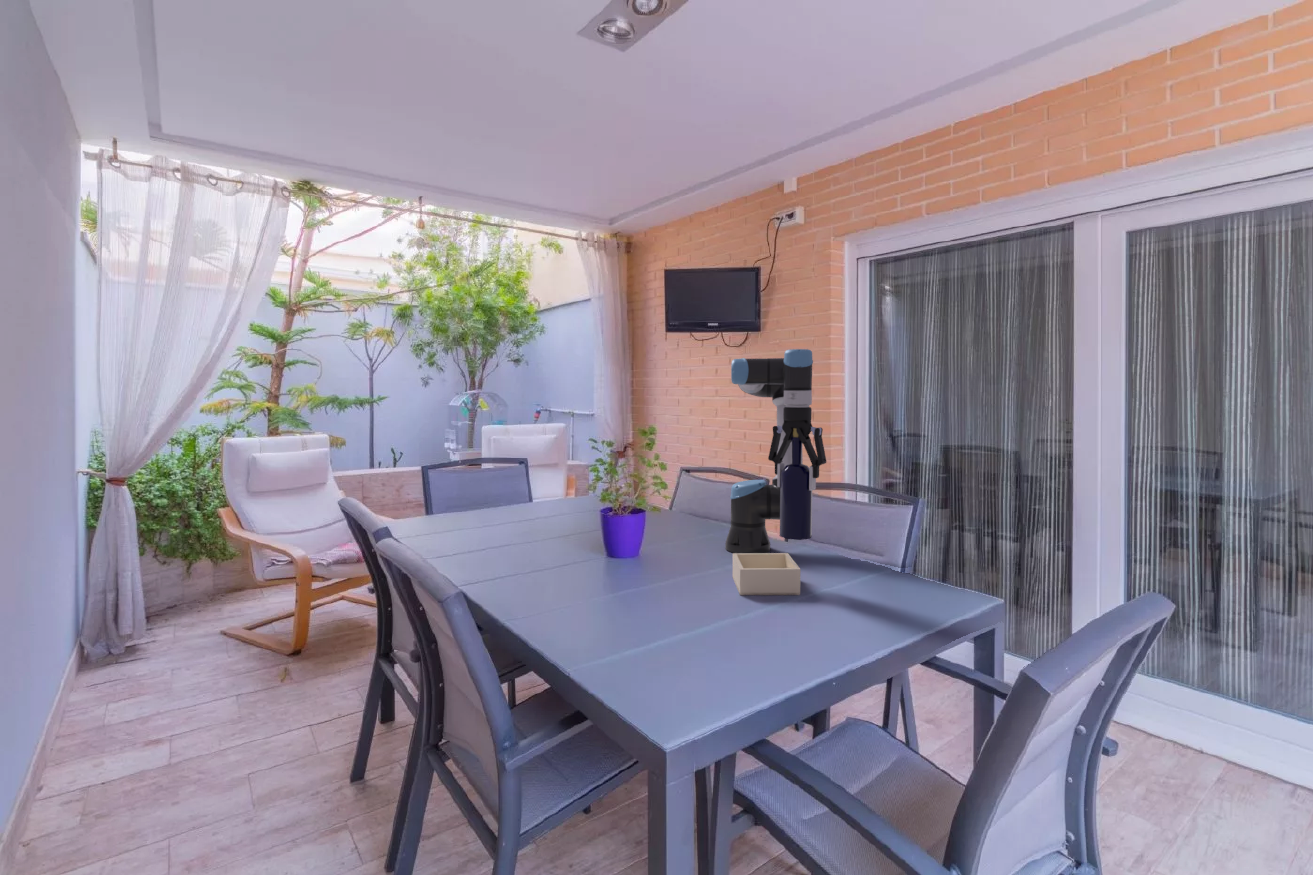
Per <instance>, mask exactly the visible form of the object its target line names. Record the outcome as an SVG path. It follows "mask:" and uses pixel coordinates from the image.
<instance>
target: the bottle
mask: <svg viewBox="0 0 1313 875" xmlns="http://www.w3.org/2000/svg"><path fill="white" fill-rule="evenodd" d="M796 430H797V429H796V428H793V437H791V440H792V464H788V465H786V466H785V468H784V469H783V470H782V472H781V485H780V520H779V537H781V538H783V539H786V540H796V541H803V540H809V539H811V538H812V536H813V534H812V531H813V530H812V529H813V528H812V527H813V526H812V523H813V520H812V519H813V490H812V491H810V490H809V467H810V466H809V465H806V464H801V459H802V454H803V443H802V442H801V441H800V439H799V437H798V434H797V431H796Z"/></svg>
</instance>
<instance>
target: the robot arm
mask: <svg viewBox="0 0 1313 875" xmlns="http://www.w3.org/2000/svg"><path fill="white" fill-rule="evenodd" d="M730 364H731V366H730V367H731V369H730V370H731V372H730V373H731V376H730V378H731V379H730V380H731V383H732V384H733V385H737V386H738V387H739V389H740V390H741V391H742V392H744V393H746V394H748V395H751V396H754V397H759V398H771V399H772V401H771V402H772V404H773V405H774V406H775V407H776V425H774V426H772V439H771V444H770V447H769V448H770V449H769V453H768V458H767V459H768V461H770V462H773V463H774V474H775V476H774V477H773V478H772V483H771V484H767V481H766V480H765V479H750V480H748V479H747V480H743V481H737V482H735V483H734V484H732V486H731V489H730V496H729V497H730V498H729V499H730V527H729V530H728V534H727V536H726V540H725V543H724V544H725V547H724V548H725V550H726V551H728V552H729V553H730V552H731V553H732V554H733V553H770V551H771V541H770V538H769V535H768V532H767V528H766V520H779V521H780V485H781V472H782V470H783V469H784V468H785V466H786V465H788V464H792V440H791V437H793V428H796V429H797V430H796V431H797V434H798V437H799V439H800V441H801V442H802V446H803V447H804V449H805V452H806V455H807V456H808V459H809V460H810V463H811V465H810V466H808V467H809V490H810V491H812V492H813V491H815V490H817V479H818V478H819V477H820V466H822V465H825V464H827V457H826V452H825V446H824V442H823V428H822V427H816V426H815V427H814V426H813V424H812V413H813V412H812V407H810V406H812V404H813V403H812V402H813V395H812V394H813V393H812V392H813V391H812V390H813V364H814V359H813V351H812V350H811V349H808V348H807V349H806V348H800V349H799V348H796V349H794V348H793V349H791V348H790V349H786V350H785V351H784V356H783V357H780V358H778V357H775V358H774V357H772V358H771V357H770V358H745V357H741V358H734V359H732V360H731V363H730ZM811 433H812V435H813V440H814V445H815V449H814V445H813V443H812V442H811V441H812V439H811V438H810V434H811ZM803 459H804V458H803V453H802V459H801V464H803V461H804V460H803Z"/></svg>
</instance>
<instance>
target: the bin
mask: <svg viewBox="0 0 1313 875" xmlns="http://www.w3.org/2000/svg"><path fill="white" fill-rule="evenodd" d="M801 572H802V571H801V568H800V567H799V565H798V564H797V563H796V561H795V560H794V559H793V558H792V557H791V555H790V554H789V553H788V552H780V553H779V552H778V553H777V552H775V553H774V552H771V553H770V552H767V553H733V552H732V579H733V582H734V584H735V587H736V589H737V591H738V594H739V596H801V574H802V573H801Z"/></svg>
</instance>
